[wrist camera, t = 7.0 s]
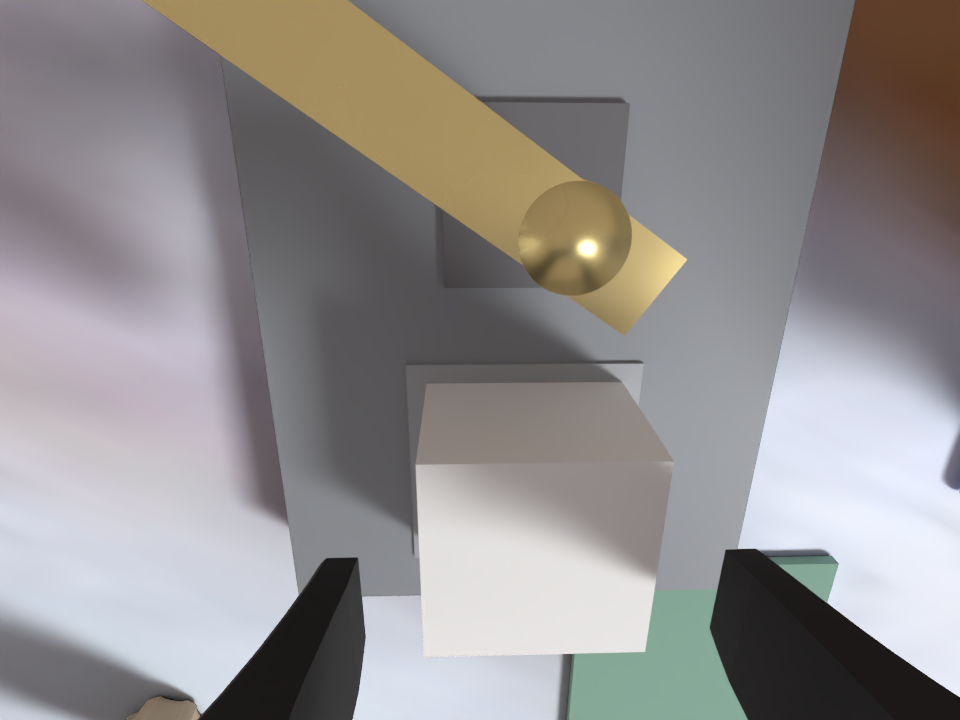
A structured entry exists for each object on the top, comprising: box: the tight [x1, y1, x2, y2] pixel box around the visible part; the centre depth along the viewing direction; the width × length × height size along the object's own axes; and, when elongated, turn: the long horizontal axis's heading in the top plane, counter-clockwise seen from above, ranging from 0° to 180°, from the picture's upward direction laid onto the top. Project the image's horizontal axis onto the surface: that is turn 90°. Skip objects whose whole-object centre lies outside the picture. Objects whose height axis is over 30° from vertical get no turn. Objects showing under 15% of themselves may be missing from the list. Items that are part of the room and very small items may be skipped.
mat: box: [566, 556, 838, 720], centre depth 22 cm, size 9×9×1 cm
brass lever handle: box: [142, 0, 687, 336], centre depth 10 cm, size 2×8×5 cm, turn 55°
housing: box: [220, 0, 855, 596], centre depth 15 cm, size 13×16×3 cm
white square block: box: [416, 382, 674, 657], centre depth 14 cm, size 5×5×4 cm
